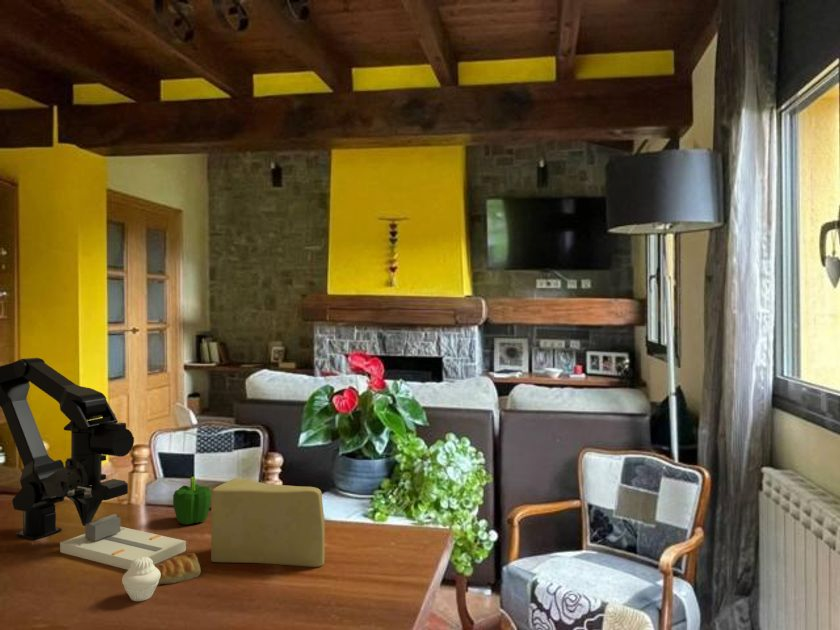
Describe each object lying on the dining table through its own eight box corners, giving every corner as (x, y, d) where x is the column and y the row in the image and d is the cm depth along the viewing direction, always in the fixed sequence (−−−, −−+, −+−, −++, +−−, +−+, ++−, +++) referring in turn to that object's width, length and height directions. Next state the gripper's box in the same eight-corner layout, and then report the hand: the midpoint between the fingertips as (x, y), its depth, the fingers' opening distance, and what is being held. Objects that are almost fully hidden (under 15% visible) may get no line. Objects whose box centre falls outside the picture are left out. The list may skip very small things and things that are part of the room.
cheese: (332, 556, 129) (333, 483, 128) (313, 576, 119) (313, 496, 119) (234, 545, 134) (235, 474, 134) (208, 563, 125) (209, 487, 124)
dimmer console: (60, 552, 129) (60, 541, 129) (111, 533, 140) (111, 523, 140) (137, 572, 120) (137, 560, 120) (185, 550, 131) (185, 540, 131)
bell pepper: (203, 528, 144) (204, 484, 144) (167, 527, 144) (168, 483, 144) (216, 515, 153) (216, 474, 153) (182, 515, 153) (182, 474, 153)
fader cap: (85, 538, 130) (85, 521, 130) (110, 529, 136) (110, 513, 136) (95, 540, 129) (95, 523, 129) (120, 531, 135) (120, 515, 135)
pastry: (151, 591, 112) (151, 570, 112) (139, 579, 118) (139, 558, 118) (203, 577, 119) (203, 557, 119) (190, 566, 124) (190, 547, 124)
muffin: (132, 588, 113) (132, 549, 113) (166, 589, 113) (166, 550, 113) (114, 605, 107) (115, 563, 107) (150, 606, 107) (151, 564, 107)
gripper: (20, 455, 131) (20, 530, 131) (81, 465, 123) (81, 545, 123) (70, 445, 141) (70, 515, 142) (130, 453, 133) (129, 527, 134)
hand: (86, 525), depth 135 cm, fingers closed
